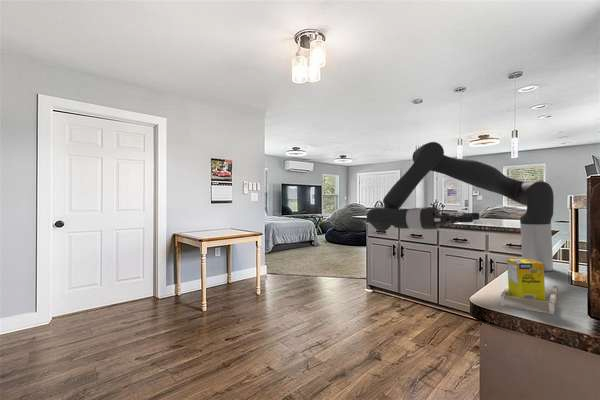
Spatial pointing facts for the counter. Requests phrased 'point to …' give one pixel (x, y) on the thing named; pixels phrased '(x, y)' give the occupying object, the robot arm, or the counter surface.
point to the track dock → (529, 302)
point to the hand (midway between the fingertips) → (476, 217)
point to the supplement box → (526, 279)
